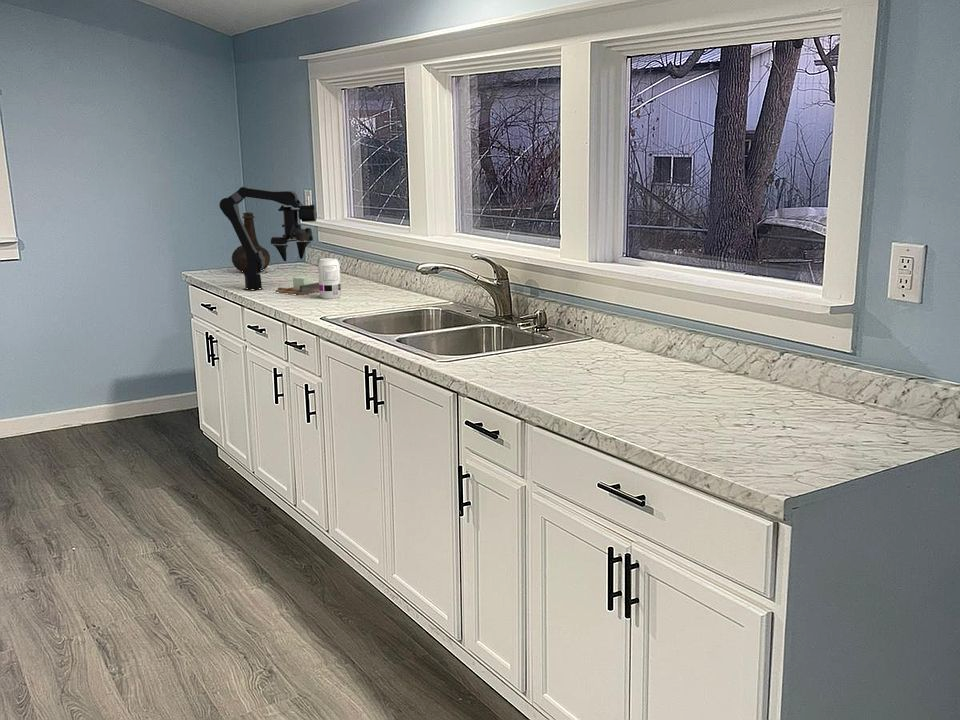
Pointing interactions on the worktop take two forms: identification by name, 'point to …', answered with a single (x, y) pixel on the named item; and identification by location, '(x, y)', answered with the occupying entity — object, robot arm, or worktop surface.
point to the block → (301, 281)
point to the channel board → (301, 289)
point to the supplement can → (329, 278)
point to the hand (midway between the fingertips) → (293, 260)
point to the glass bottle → (239, 253)
